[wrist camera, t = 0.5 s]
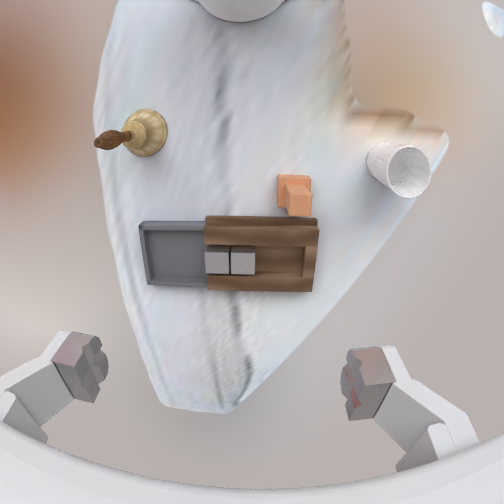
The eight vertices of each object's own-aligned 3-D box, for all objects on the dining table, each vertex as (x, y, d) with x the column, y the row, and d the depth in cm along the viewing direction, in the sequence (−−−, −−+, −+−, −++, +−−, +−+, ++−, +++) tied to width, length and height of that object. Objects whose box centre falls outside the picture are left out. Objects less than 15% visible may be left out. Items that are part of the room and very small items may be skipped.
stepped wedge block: (278, 174, 47) (282, 187, 38) (307, 175, 47) (319, 189, 38) (276, 202, 49) (281, 221, 40) (306, 203, 49) (316, 222, 40)
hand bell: (164, 158, 46) (125, 175, 32) (121, 154, 46) (71, 171, 31) (170, 110, 43) (131, 107, 28) (125, 108, 42) (74, 108, 28)
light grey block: (232, 245, 52) (230, 252, 49) (255, 245, 52) (255, 253, 49) (232, 265, 53) (231, 273, 51) (254, 266, 53) (254, 274, 50)
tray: (143, 221, 51) (138, 225, 49) (206, 221, 51) (204, 225, 49) (151, 278, 56) (147, 284, 54) (209, 280, 56) (208, 287, 54)
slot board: (206, 215, 51) (203, 221, 48) (316, 218, 50) (319, 224, 47) (210, 285, 56) (207, 294, 54) (308, 287, 56) (311, 296, 53)
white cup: (382, 192, 48) (407, 209, 39) (354, 161, 46) (376, 171, 37) (410, 162, 45) (439, 173, 36) (383, 130, 43) (410, 134, 34)
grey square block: (207, 244, 52) (204, 252, 49) (230, 245, 52) (228, 252, 49) (208, 265, 53) (205, 273, 51) (230, 265, 53) (228, 273, 51)
